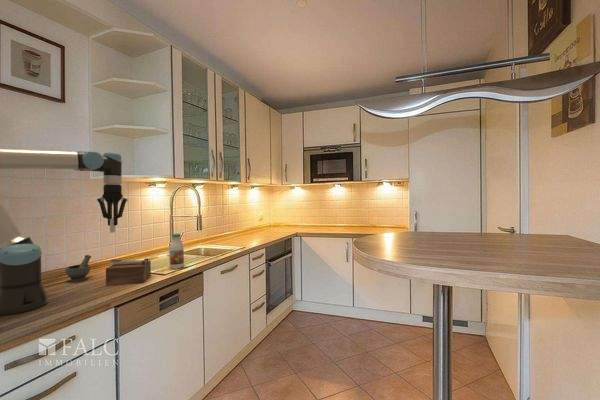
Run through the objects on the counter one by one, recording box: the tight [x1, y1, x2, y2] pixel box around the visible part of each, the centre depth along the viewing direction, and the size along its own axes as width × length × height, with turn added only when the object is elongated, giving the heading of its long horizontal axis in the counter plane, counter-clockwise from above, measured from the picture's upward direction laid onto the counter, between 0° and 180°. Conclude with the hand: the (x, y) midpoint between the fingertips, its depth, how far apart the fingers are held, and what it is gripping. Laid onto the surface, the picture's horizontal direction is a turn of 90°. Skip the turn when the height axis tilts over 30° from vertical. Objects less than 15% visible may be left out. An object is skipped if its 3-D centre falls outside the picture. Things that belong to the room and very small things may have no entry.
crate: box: [105, 258, 152, 287], centre depth 143 cm, size 14×17×10 cm
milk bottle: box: [168, 233, 185, 270], centre depth 168 cm, size 8×8×20 cm
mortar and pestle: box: [65, 254, 92, 283], centre depth 145 cm, size 11×9×12 cm
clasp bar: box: [107, 259, 147, 264], centre depth 143 cm, size 4×17×1 cm, turn 105°
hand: (112, 232), depth 141 cm, fingers closed
